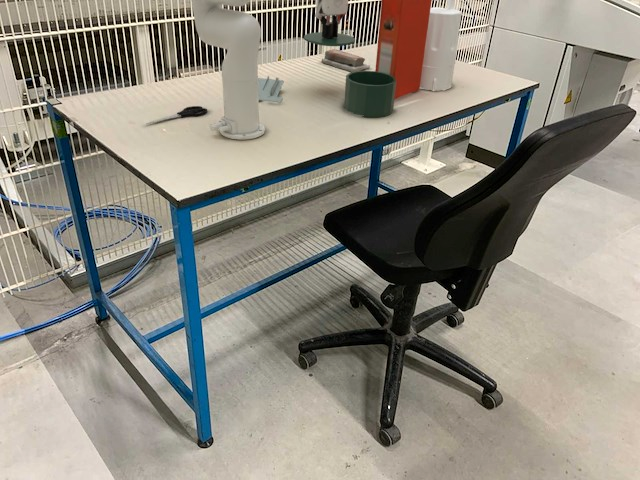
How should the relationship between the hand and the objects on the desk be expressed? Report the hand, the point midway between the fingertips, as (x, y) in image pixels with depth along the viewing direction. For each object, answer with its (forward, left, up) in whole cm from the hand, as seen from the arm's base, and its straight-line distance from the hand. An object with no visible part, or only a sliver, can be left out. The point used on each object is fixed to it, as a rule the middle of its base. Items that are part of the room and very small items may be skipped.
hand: (329, 36), depth 167 cm
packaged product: (+30, +21, -19) cm, 42 cm away
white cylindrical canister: (+39, -15, -19) cm, 46 cm away
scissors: (-52, +11, -19) cm, 56 cm away
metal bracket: (-19, +11, -19) cm, 29 cm away
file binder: (+20, -14, -19) cm, 31 cm away
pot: (0, -19, -19) cm, 27 cm away
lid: (0, 0, -1) cm, 1 cm away
